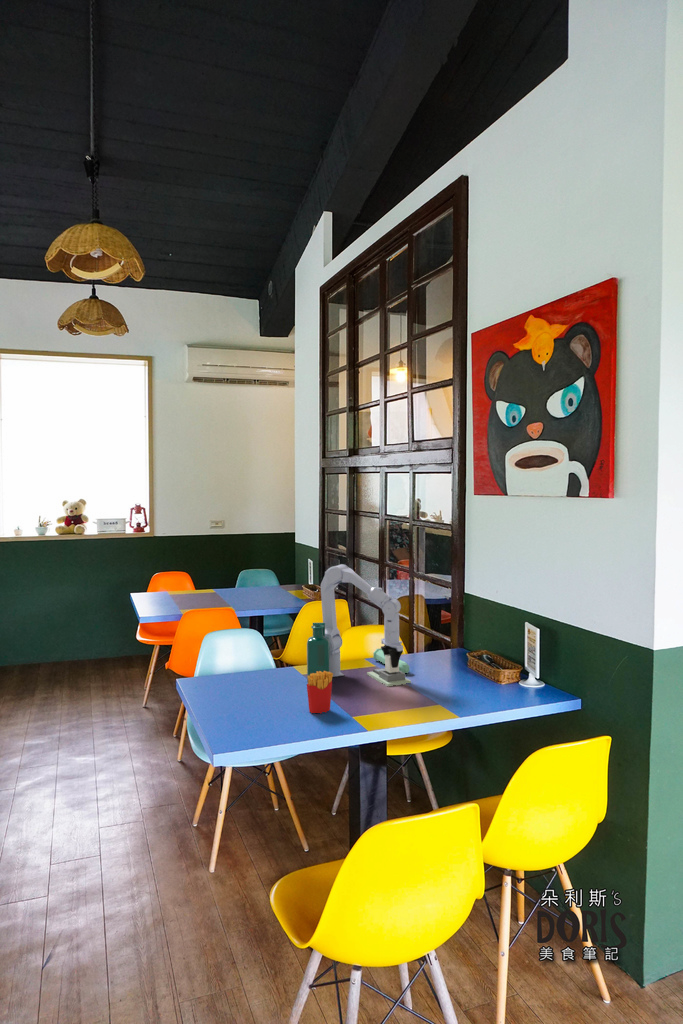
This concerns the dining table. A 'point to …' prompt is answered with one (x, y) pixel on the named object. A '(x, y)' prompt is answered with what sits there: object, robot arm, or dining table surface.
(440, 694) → the dining table surface
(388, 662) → the block
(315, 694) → the french fries
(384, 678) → the outlet plate
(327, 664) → the green bottle
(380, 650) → the container
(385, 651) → the robot arm
